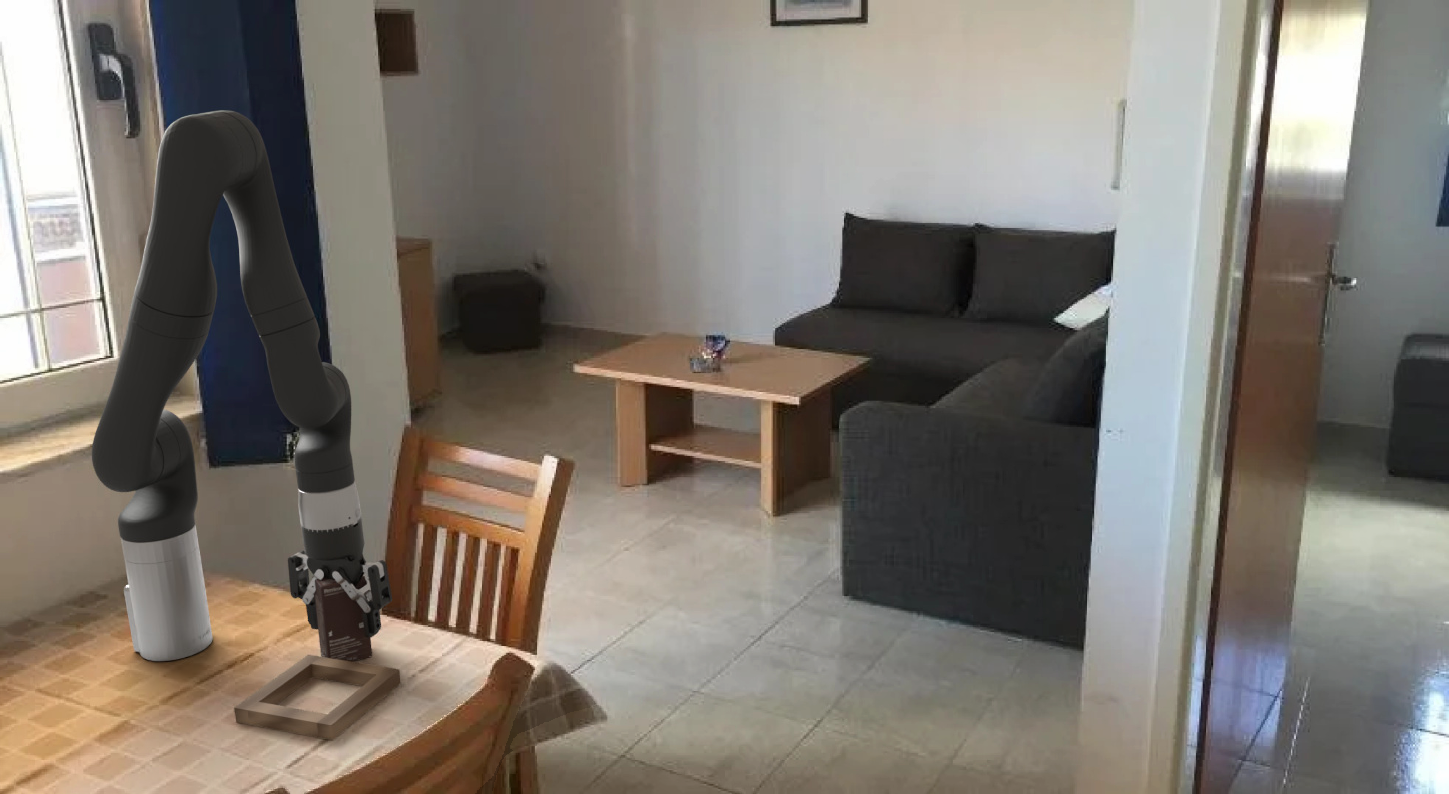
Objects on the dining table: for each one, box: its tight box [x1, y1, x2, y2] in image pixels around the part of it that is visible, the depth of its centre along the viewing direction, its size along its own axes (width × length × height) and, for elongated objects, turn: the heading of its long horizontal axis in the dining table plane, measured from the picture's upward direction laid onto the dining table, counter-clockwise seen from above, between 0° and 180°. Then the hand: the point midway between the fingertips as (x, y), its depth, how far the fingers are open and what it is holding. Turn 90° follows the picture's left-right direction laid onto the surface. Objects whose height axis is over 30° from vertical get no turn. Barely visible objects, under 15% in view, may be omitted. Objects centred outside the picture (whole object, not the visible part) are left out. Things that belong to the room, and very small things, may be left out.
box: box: [311, 575, 373, 662], centre depth 157 cm, size 6×4×12 cm
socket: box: [233, 654, 402, 741], centre depth 147 cm, size 14×14×2 cm
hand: (345, 630), depth 157 cm, fingers open, 8 cm apart
